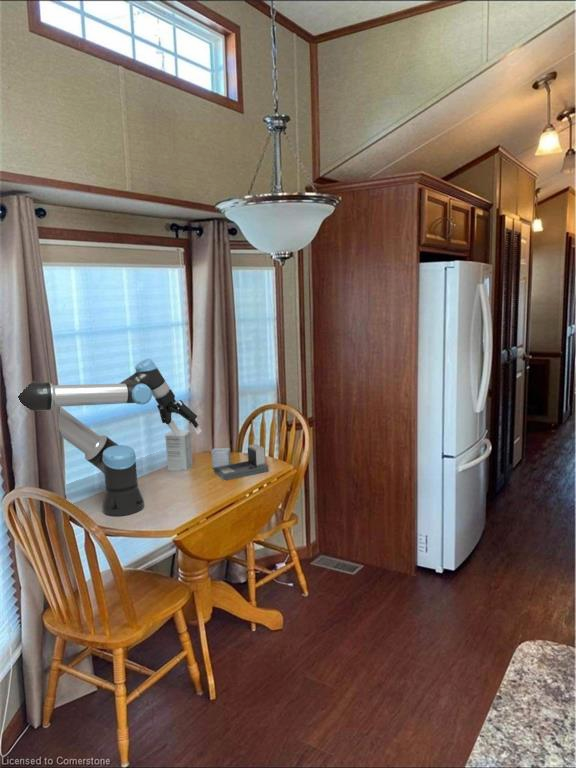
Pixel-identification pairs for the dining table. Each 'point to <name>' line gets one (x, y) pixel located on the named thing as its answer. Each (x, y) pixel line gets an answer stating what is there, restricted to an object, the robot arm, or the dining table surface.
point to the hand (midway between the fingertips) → (188, 433)
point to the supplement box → (179, 451)
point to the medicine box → (220, 457)
